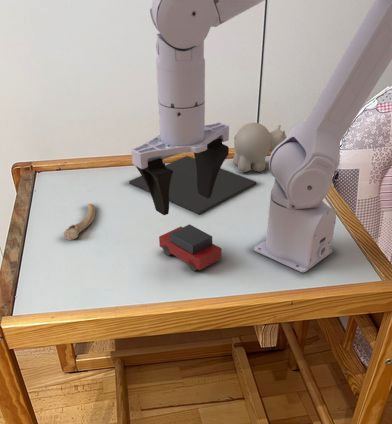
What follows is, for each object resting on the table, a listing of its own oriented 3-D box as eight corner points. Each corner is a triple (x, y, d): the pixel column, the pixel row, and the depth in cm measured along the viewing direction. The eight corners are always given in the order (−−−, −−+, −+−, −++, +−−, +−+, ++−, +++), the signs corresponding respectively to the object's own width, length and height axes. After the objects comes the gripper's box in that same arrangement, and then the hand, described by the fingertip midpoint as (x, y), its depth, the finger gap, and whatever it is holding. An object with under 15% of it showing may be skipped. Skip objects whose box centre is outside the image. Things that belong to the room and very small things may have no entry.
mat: (256, 184, 98) (256, 181, 98) (199, 214, 90) (199, 212, 89) (187, 158, 107) (187, 155, 107) (129, 183, 99) (129, 181, 98)
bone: (102, 208, 92) (101, 197, 90) (79, 242, 84) (77, 230, 82) (89, 207, 92) (87, 196, 91) (64, 240, 84) (61, 229, 83)
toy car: (199, 275, 76) (221, 263, 79) (199, 251, 74) (221, 240, 76) (159, 251, 81) (181, 240, 83) (158, 228, 79) (180, 218, 81)
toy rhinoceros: (296, 172, 102) (302, 128, 96) (237, 176, 101) (239, 131, 95) (286, 157, 107) (291, 114, 102) (229, 161, 106) (231, 118, 100)
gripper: (152, 123, 58) (159, 231, 67) (247, 96, 65) (241, 198, 74) (118, 107, 62) (128, 211, 71) (210, 83, 69) (208, 181, 78)
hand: (183, 203), depth 73 cm, fingers open, 7 cm apart
